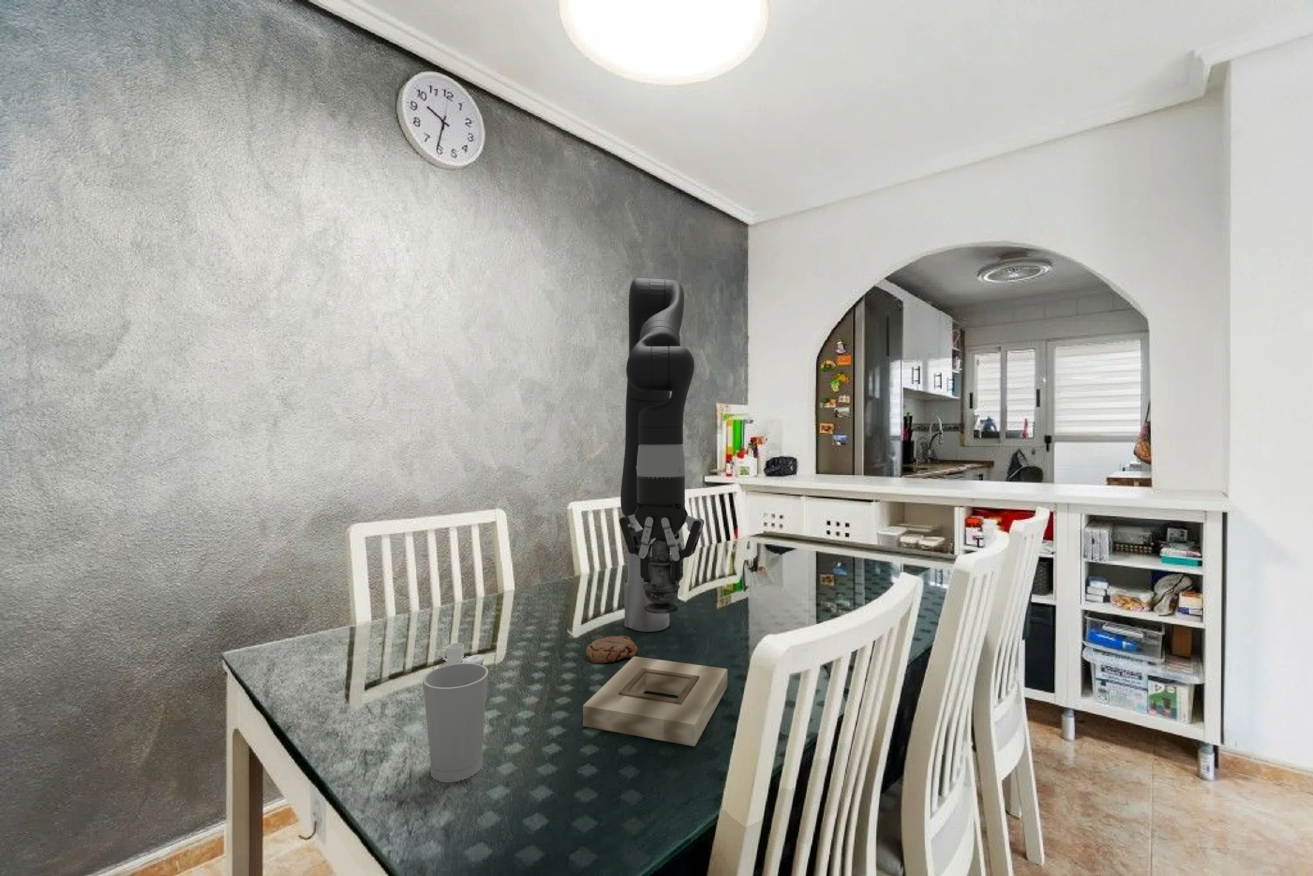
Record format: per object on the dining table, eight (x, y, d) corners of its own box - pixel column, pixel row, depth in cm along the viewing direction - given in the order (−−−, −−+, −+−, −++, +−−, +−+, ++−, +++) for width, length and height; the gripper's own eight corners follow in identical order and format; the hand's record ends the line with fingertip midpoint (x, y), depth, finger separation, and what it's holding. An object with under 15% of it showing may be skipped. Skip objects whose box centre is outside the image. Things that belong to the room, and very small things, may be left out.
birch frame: (583, 726, 86) (583, 703, 86) (633, 673, 105) (633, 654, 105) (694, 746, 81) (694, 722, 81) (727, 686, 99) (727, 667, 99)
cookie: (574, 661, 112) (574, 645, 112) (603, 642, 121) (603, 628, 121) (620, 670, 107) (620, 653, 107) (646, 650, 117) (646, 635, 117)
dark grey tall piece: (676, 615, 89) (676, 536, 89) (639, 613, 90) (638, 535, 90) (682, 604, 95) (682, 530, 95) (647, 602, 96) (646, 529, 96)
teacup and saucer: (490, 663, 111) (490, 642, 111) (460, 680, 104) (459, 657, 103) (455, 656, 114) (455, 635, 114) (423, 671, 107) (423, 649, 107)
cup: (434, 752, 79) (433, 663, 79) (494, 749, 80) (493, 661, 80) (414, 788, 71) (413, 689, 71) (481, 784, 72) (481, 687, 72)
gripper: (710, 472, 94) (711, 580, 94) (628, 471, 99) (628, 573, 99) (698, 475, 87) (698, 592, 87) (609, 474, 91) (610, 584, 92)
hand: (661, 581), depth 93 cm, fingers closed on dark grey tall piece, 4 cm apart
